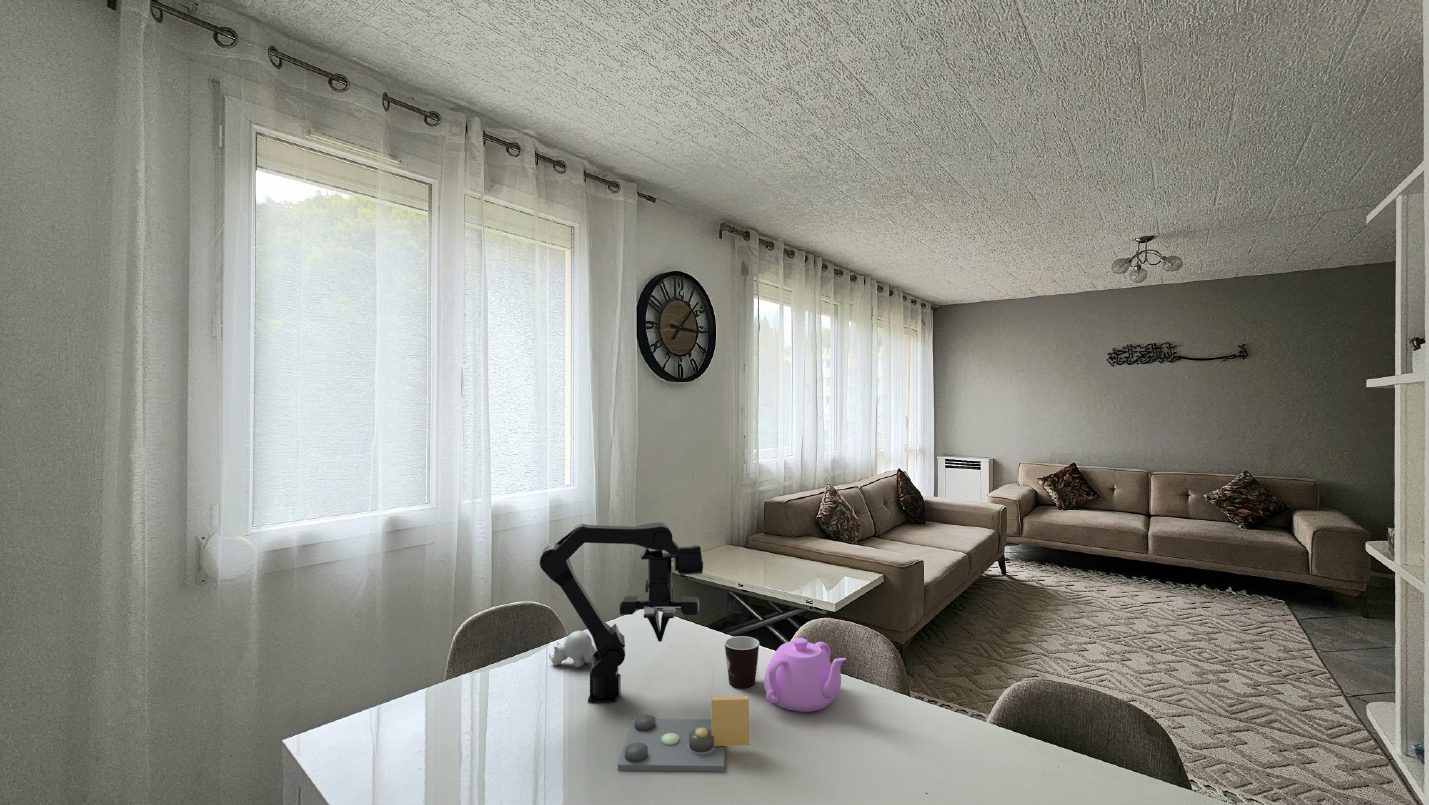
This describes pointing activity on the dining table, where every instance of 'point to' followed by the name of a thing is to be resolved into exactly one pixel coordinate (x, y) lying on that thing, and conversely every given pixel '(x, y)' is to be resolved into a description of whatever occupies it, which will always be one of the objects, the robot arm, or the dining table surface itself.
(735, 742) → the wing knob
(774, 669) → the teapot
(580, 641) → the round bodied animal figurine
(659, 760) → the plate
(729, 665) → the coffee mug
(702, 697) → the dining table surface
